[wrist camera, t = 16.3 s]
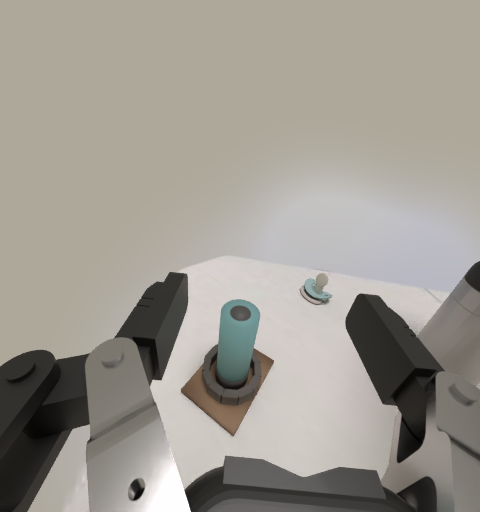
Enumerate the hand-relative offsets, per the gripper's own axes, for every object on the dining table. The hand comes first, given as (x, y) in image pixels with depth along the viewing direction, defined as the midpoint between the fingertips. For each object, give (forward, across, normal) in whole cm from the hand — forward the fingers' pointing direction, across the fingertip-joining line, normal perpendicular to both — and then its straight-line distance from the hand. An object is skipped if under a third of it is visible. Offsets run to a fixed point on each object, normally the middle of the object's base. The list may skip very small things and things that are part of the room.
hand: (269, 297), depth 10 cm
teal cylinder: (+11, 0, +25) cm, 28 cm away
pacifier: (+33, -18, +26) cm, 46 cm away
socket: (+11, +1, +26) cm, 28 cm away
